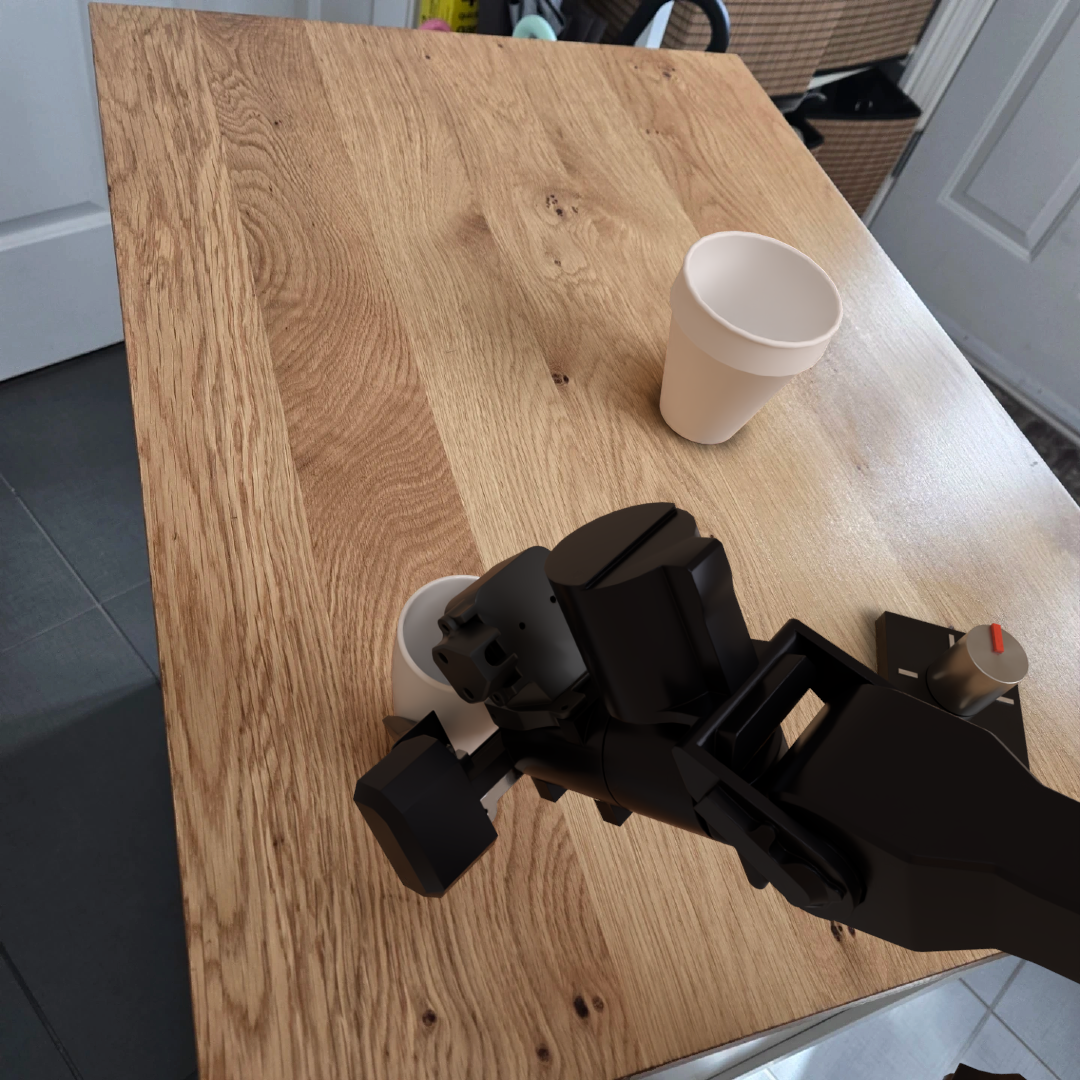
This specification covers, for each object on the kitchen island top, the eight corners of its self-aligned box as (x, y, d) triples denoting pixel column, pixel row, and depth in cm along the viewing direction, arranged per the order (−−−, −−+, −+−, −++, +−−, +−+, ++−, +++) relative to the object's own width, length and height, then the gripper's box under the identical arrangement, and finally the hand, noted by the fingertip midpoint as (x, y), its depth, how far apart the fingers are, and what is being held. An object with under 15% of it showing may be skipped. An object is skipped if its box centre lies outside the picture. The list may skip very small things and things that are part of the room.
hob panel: (1017, 779, 66) (1032, 770, 65) (880, 742, 65) (892, 732, 64) (1000, 655, 72) (1014, 644, 71) (875, 620, 71) (886, 608, 70)
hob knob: (988, 723, 66) (1036, 688, 62) (928, 706, 66) (972, 671, 62) (981, 668, 69) (1027, 631, 65) (924, 652, 69) (966, 614, 64)
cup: (666, 338, 84) (723, 207, 74) (789, 408, 83) (866, 285, 72) (601, 417, 77) (654, 284, 66) (734, 496, 75) (811, 373, 65)
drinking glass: (357, 773, 56) (366, 647, 44) (420, 686, 60) (444, 549, 48) (456, 833, 55) (492, 721, 43) (513, 741, 59) (561, 615, 47)
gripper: (715, 468, 43) (494, 471, 54) (407, 736, 32) (216, 668, 44) (783, 670, 47) (564, 632, 58) (529, 963, 37) (326, 847, 48)
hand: (434, 685), depth 52 cm, fingers closed on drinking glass, 6 cm apart
